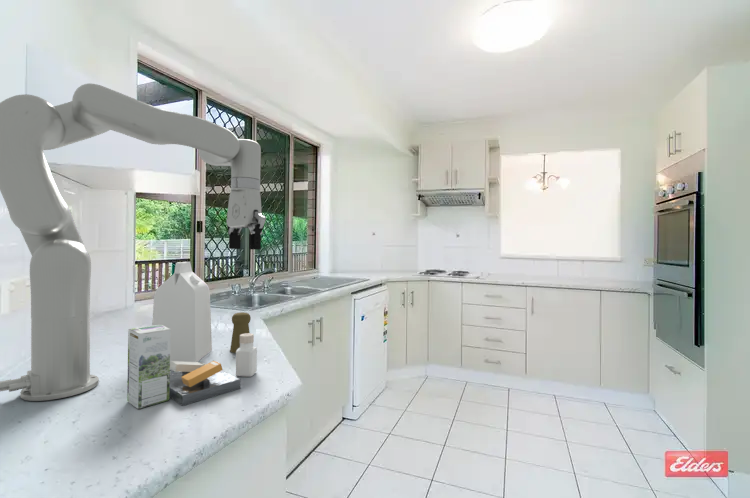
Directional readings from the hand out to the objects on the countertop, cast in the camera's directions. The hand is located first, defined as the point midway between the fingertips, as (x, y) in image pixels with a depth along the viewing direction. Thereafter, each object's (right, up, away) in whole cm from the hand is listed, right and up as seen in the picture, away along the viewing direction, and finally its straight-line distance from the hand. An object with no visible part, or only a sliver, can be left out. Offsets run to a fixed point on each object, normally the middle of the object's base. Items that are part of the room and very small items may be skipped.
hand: (244, 249), depth 102 cm
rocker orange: (0, -26, -24) cm, 36 cm away
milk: (-17, -30, +1) cm, 35 cm away
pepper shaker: (-4, -30, +8) cm, 31 cm away
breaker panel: (-3, -30, -22) cm, 37 cm away
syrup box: (-9, -30, -29) cm, 43 cm away
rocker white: (-5, -26, -20) cm, 33 cm away
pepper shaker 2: (+5, -30, -13) cm, 33 cm away
